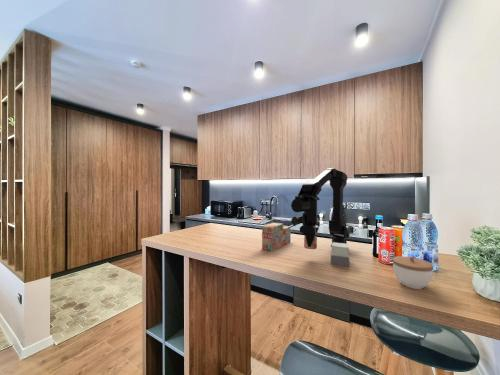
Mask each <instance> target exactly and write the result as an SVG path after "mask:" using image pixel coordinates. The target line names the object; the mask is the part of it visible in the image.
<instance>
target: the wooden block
mask: <svg viewBox="0 0 500 375" xmlns="http://www.w3.org/2000/svg"><path fill="white" fill-rule="evenodd" d="M303 240H304V241H303V246H304V247H303V248H304V249H307V250H316V249H317V248H318V237H317V235H316V236H315V237H314V240H313V242H312V245H311V247H308V244H307V240H306V236H305V235H304V236H303Z"/></svg>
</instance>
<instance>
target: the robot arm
mask: <svg viewBox="0 0 500 375" xmlns="http://www.w3.org/2000/svg"><path fill="white" fill-rule="evenodd" d="M347 181H348V174H346V173H345V172H344V171H340V170H338V169H336V168H335V167H332V168H330V167H329V168H328V167H327V168H325V169H324V170H323V171H322V172H321V173H320V174H319V175H318V176H316V177H315V178H314V179H311V180H308V181H306V182H303V183H302V185H301V188H300V189H299V191H298V194H297V195H295V197H294V199H293V200H292V201H291V204H290V207H291V209H292V210H291V211H293V212H295V213H301V212H302V215H299V216H297V215H295V216H292V218H291V219H290V223H291V224H292V226H293V227H295V226H297V225H301V224H302V225H301V226H300V227H299V233H302V234H303V235H304V236H306V240H307V244H308V247H311V245H312V242H313V240H314V237H315V236H317V234H318V231H319V229H320V228H319V227H320V226H321V221H319V220H318V215H319V213H318V201H320V197H318V195H319V194H320V193H321V192H322V188H323V186H324V185H325V184H326V183H328V182H329V185H330V187H331V188H332V217H331V219H329V220H328V233H329V235H330V236H332V237H331V245H330V247H332V243H333V242H334V243H344V244H348V243H347V241H348V238H350V236H351V233H350V231H349V229H348V227H347V221H346V220H345V218H344V217H343V216H344V189H345V188H346V186H347Z"/></svg>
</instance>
